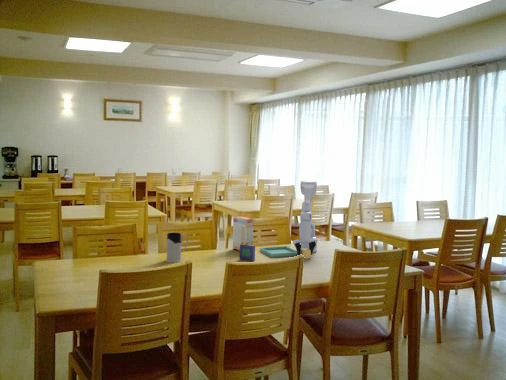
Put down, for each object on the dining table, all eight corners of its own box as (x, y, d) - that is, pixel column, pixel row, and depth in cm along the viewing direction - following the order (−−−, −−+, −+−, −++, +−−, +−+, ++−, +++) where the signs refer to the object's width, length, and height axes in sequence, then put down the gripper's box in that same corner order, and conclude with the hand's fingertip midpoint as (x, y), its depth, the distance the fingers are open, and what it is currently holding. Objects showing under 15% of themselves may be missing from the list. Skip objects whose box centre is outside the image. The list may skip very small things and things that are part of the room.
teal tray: (286, 249, 291) (286, 246, 291) (299, 255, 274) (299, 252, 274) (260, 251, 284) (260, 247, 284) (271, 257, 268) (271, 253, 267)
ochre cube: (306, 256, 273) (306, 248, 273) (310, 258, 268) (310, 250, 268) (298, 257, 271) (299, 248, 271) (302, 258, 267) (303, 250, 266)
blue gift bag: (255, 260, 260) (255, 241, 259) (253, 261, 257) (253, 242, 256) (240, 259, 263) (240, 240, 262) (238, 260, 260) (238, 241, 259)
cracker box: (253, 252, 281) (254, 218, 279) (245, 253, 277) (245, 219, 275) (240, 248, 292) (241, 215, 290) (232, 249, 288) (233, 216, 287)
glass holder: (162, 260, 256) (162, 233, 254) (182, 256, 266) (183, 230, 265) (172, 263, 250) (172, 235, 248) (192, 259, 260) (192, 232, 259)
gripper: (297, 234, 262) (296, 257, 263) (319, 232, 267) (319, 255, 268) (292, 231, 269) (291, 254, 270) (313, 230, 274) (313, 253, 275)
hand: (304, 255), depth 270 cm, fingers open, 7 cm apart
